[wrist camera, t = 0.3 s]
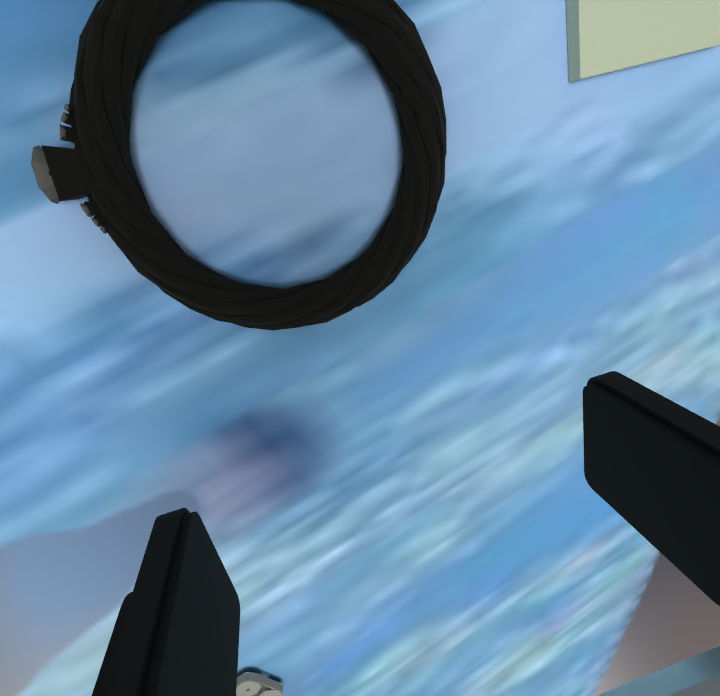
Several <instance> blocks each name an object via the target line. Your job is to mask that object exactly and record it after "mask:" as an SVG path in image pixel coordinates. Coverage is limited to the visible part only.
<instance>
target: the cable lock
mask: <svg viewBox="0 0 720 696" xmlns="http://www.w3.org/2000/svg"><path fill="white" fill-rule="evenodd" d="M205 1H210V0H99V1H98V2H97V4H96V6H95V8H94V10H93V12H92V13H91V15H90V17H89V19H88V21H87V23H86V25H85V27H84V29H83V31H82V33H81V35H80V39H79V46H78V52H77V59H76V66H75V73H74V81H73V84H72V88H71V93H70V102H69V105H68V104H65V106H64V109H65V110H66V111H69V114H67V113H66V114H65V112H64V113H63V115H62V118H61V121H62V122H64V123H66V124H69V125H71V127H72V128H70V127H67V126H64V125H63V126H62V125H61V124H60V140H63V141H70V142H73V143H74V144H75V148H74V149H71V148H61V147H50V146H42V147H40V146H36V147H34V148H33V153H32V161H31V164H32V168H33V171H34V174H35V177H36V180H37V183H38V187H39V188H40V189H41V190H42V191H43V193H44V194H45V195H46V196H47V197H48V199H49V200H50V201H51V202H54V203H57V204H58V203H59V202H60V201H66V200H75V199H80V198H84V197H88V199H89V201H87V202H84V204H82V203H81V207H82V209H83V210H84V212H85V213H86V215H87V216H88V217H92V216H93V215H96V216H93V218H91V219H92V221H93V222H94V223H95V224H96V225H97V226H98V227H99V226H102V227H101V228H100V229H101V230H102V232H103V233H107V232H108V234H109V235H110V236H111V238H112V239H113V241H114V242H115V243H116V245H117V246H118V247H119V248H120V249H121V251H122V252H123V253H124V255H125V256H126V257H127V258H128V260H129V261H130V262H131V263H132V265H133V266H134V267H135V269H136V270H137V271H138V272H139V273H140V274H142V275H143V276H144V277H146V278H147V279H149V280H150V281H152V282H153V283H154V284H156V285H157V286H158V287H159V288H160V289H161V290H162V291H163V292H164V293H166V294H168V295H169V296H171V297H172V298H174V299H175V300H177V301H179V302H180V303H182V304H183V305H185V306H187V307H188V308H190V309H192V310H194V311H196V312H199V313H201V314H204V315H206V316H208V317H211V318H213V319H215V320H218V321H224V322H230V323H233V324H236V325H240V326H243V327H248V328H257V329H266V330H280V329H288V328H296V327H302V326H307V325H313V324H319V323H325V322H328V321H330V320H332V319H334V318H336V317H338V316H340V315H343V314H345V313H347V312H349V311H351V310H352V309H353V308H355V307H358V306H360V305H362V304H364V303H366V302H367V301H369V300H371V299H373V298H374V297H375V296H376V295H378V294H379V293H380V292H381V291H383V290H384V289H385V288H386V287H387V286H389V285H390V284H391V283H392V282H393V281H394V280H395V279H396V277H397V276H398V274H399V273H400V272H401V270H402V269H403V268H404V267H405V266H406V264H407V263H408V262H409V261H410V260H411V259H412V257H413V256H414V254H415V253H416V251H417V250H418V248H419V247H420V245H421V244H422V242H423V241H424V239H425V238H426V236H427V233H428V231H429V228H430V225H431V223H432V220H433V217H434V215H435V212H436V208H437V203H438V201H439V198H440V195H441V192H442V188H443V185H444V179H445V156H446V116H445V110H444V103H443V97H442V90H441V86H440V84H439V81H438V79H437V76H436V74H435V71H434V69H433V66H432V64H431V61H430V59H429V56H428V54H427V51H426V49H425V47H424V45H423V42H422V40H421V38H420V36H419V33H418V31H417V29H416V26H415V24H414V23H413V21H412V20H411V19H410V18H409V17H408V16H407V15H406V13H405V12H404V11H403V10H402V9H401V8H400V7H399V5H398V4H397V3H396V2H395V1H394V0H292V1H295V2H298V3H302V4H305V5H308V6H311V7H315V8H318V9H320V10H322V11H324V12H325V13H326V14H327V15H329V16H330V17H331V18H332V19H333V20H335V21H336V22H337V23H338V24H339V25H341V26H342V27H343V28H344V29H345V30H347V31H348V32H349V33H350V34H351V35H353V36H354V37H355V38H356V39H357V40H359V41H360V42H361V43H362V44H363V45H365V47H366V48H367V49H368V51H369V53H370V55H371V56H372V58H373V60H374V62H375V63H376V65H377V67H378V69H379V70H380V72H381V74H382V76H383V77H384V79H385V81H386V83H387V85H388V86H389V88H390V90H391V92H392V93H393V96H394V100H395V104H396V108H397V112H398V116H399V121H400V129H401V137H402V145H403V153H404V155H403V167H402V172H401V177H400V182H399V187H398V192H397V197H396V202H395V206H394V208H393V210H392V212H391V213H390V215H389V217H388V218H387V220H386V222H385V223H384V225H383V227H382V228H381V230H380V232H379V233H378V235H377V237H376V238H375V240H374V242H373V243H372V245H371V246H370V247H369V248H368V249H367V250H366V251H365V252H364V253H363V254H362V255H361V256H359V257H358V258H357V259H356V260H354V261H352V262H351V263H349V264H348V265H346V266H345V267H343V268H342V269H340V270H339V271H337V272H336V273H334V274H333V275H331V276H330V277H328V278H326V279H324V280H320V281H316V282H312V283H307V284H303V285H299V286H294V287H290V288H286V289H278V288H272V287H265V286H258V285H251V284H244V283H240V282H237V281H234V280H231V279H229V278H227V277H225V276H223V275H220V274H218V273H216V272H215V271H213V270H211V269H210V268H208V267H206V266H205V265H203V264H201V263H200V262H198V261H197V260H195V259H193V258H192V257H190V256H188V255H187V254H186V253H184V252H183V250H182V249H181V248H180V247H179V246H178V244H177V243H176V242H175V241H174V239H173V238H172V237H171V236H170V235H169V233H168V232H167V231H166V230H165V229H164V227H163V226H162V225H161V224H160V223H159V221H158V220H157V219H156V218H155V217H154V215H153V214H152V213H151V211H150V208H149V206H148V203H147V201H146V198H145V195H144V193H143V190H142V188H141V185H140V183H139V180H138V177H137V175H136V172H135V170H134V167H133V165H132V160H131V155H130V145H129V132H130V118H131V104H132V92H133V88H134V85H135V82H136V80H137V78H138V76H139V74H140V72H141V70H142V68H143V66H144V64H145V62H146V60H147V58H148V56H149V54H150V52H151V50H152V48H153V46H154V44H155V42H156V40H157V38H158V37H159V36H160V35H161V34H163V33H164V32H165V31H167V30H168V29H169V28H171V27H172V26H173V25H175V24H176V23H177V22H179V21H180V20H181V19H183V18H184V17H185V16H187V15H188V14H189V13H191V12H192V11H193V10H195V9H196V8H197V7H199V6H200V5H201V4H203V3H204V2H205Z"/></svg>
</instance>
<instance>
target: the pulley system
mask: <svg viewBox="0 0 720 696" xmlns="http://www.w3.org/2000/svg"><path fill="white" fill-rule="evenodd" d="M260 684H262V685H260ZM257 692H258V696H283V694H282V683H281V682H277V681H274V680H272V679H269V678H267V677H265V676H262V675H260V674H259V673H253V672H245V673H243V674H242V675H240V676H238V677H237V687H236V695H239V696H252V695H254V694H256V693H257Z"/></svg>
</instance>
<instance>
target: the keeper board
mask: <svg viewBox="0 0 720 696" xmlns="http://www.w3.org/2000/svg"><path fill="white" fill-rule="evenodd" d="M566 14H567V44H568V74H569V82H573V81H577V80H582V79H586V78H590V77H594V76H598V75H602V74H606V73H610V72H614V71H618V70H622V69H626V68H630V67H635V66H639V65H643V64H647V63H651V62H655V61H659V60H663V59H667V58H671V57H675V56H679V55H683V54H688V53H692V52H696V51H700V50H704V49H708V48H712V47H715V46H719V45H720V0H566Z"/></svg>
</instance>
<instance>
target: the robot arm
mask: <svg viewBox="0 0 720 696" xmlns="http://www.w3.org/2000/svg"><path fill="white" fill-rule="evenodd" d="M583 430H584V473H585V478H586V480H587V482H588V484H589V485H590V487H591V488H592V489H593V490H594V491H595V492H596V493H597V494H598V495H599V496H600V497H602V498H603V499H604V500H605V501H606V502H607V503H608V504H609V505H610V506H611V507H612V508H613V509H614V510H616V511H617V512H618V513H619V514H620V515H621V516H622V517H623V518H624V519H625V520H626V521H627V522H628V523H630V524H631V525H632V526H633V527H634V528H635V529H636V530H637V531H638V532H639V533H640V534H641V535H642V536H644V537H645V538H646V539H647V540H648V541H649V542H650V543H651V544H652V545H653V546H654V547H655V548H656V549H658V550H659V551H660V552H661V553H662V554H663V555H664V556H665V557H666V558H667V559H668V560H669V561H670V562H672V563H673V564H674V565H675V566H676V567H677V568H678V569H679V570H680V571H681V572H683V574H685V575H686V576H687V577H688V578H689V579H690V580H691V581H692V582H693V583H694V584H695V585H696V586H697V587H698V588H700V589H701V590H702V591H703V592H704V593H705V594H706V595H707V596H708V597H709V598H711V600H713V601H714V602H715V603H716V604H717V605H719V606H720V427H719V426H717V425H716V424H714V423H712V422H710V421H708V420H706V419H704V418H703V417H701V416H699V415H697V414H695V413H693V412H691V411H689V410H688V409H686V408H684V407H682V406H680V405H678V404H676V403H674V402H673V401H671V400H669V399H667V398H665V397H663V396H661V395H660V394H658V393H656V392H654V391H652V390H650V389H648V388H646V387H645V386H643V385H641V384H639V383H637V382H635V381H633V380H632V379H630V378H628V377H626V376H624V375H622V374H620V373H618V372H615V371H612V372H608V373H605V374H602V375H599V376H596V377H592V378H590V379H589V380H588V382H587V386H585V387H584V389H583ZM239 625H240V604H239V599H238V595H237V593H236V590H235V588H234V586H233V584H232V582H231V580H230V578H229V576H228V574H227V572H226V570H225V568H224V566H223V563H222V561H221V559H220V557H219V555H218V553H217V551H216V549H215V547H214V545H213V543H212V541H211V539H210V536H209V534H208V532H207V530H206V528H205V526H204V524H203V522H202V520H201V518H200V516H199V514H198V513H197V512H192V513H190V512H189V511H188V510H187V509H186V508H182V509H179V510H175V511H172V512H169V513H166V514H163V515H160V516H158V517H157V518H156V520H155V522H154V526H153V529H152V532H151V535H150V539H149V542H148V545H147V548H146V551H145V554H144V558H143V561H142V564H141V567H140V571H139V574H138V577H137V580H136V583H135V586H134V590H133V592H130V593H129V594H128V595H127V596H126V597H125V599H124V601H123V603H122V605H121V608H120V611H119V614H118V617H117V620H116V624H115V627H114V630H113V633H112V636H111V639H110V642H109V645H108V648H107V651H106V654H105V657H104V660H103V663H102V666H101V669H100V672H99V675H98V678H97V681H96V684H95V687H94V690H93V693H92V696H236V687H237V667H238V646H239ZM597 696H720V646H719V647H716V648H714V649H711V650H709V651H706V652H704V653H701V654H699V655H696V656H694V657H692V658H689V659H686V660H684V661H681V662H679V663H677V664H674V665H671V666H669V667H666V668H664V669H662V670H659V671H657V672H654V673H652V674H649V675H647V676H644V677H642V678H640V679H637V680H634V681H632V682H629V683H627V684H625V685H622V686H620V687H617V688H615V689H612V690H610V691H608V692H605V693H602V694H600V695H597Z"/></svg>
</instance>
